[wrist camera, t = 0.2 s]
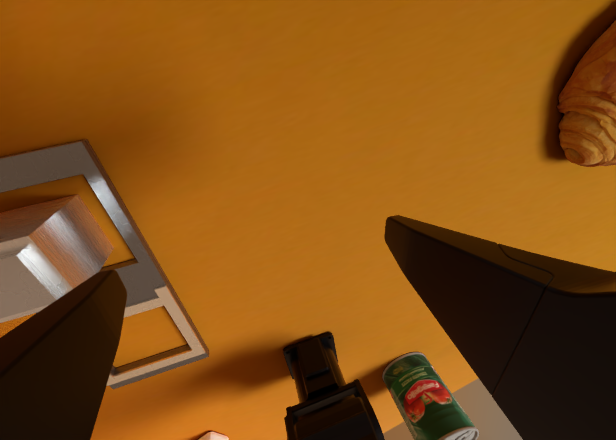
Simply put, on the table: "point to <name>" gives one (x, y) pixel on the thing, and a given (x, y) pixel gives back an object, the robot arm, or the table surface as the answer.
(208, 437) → the pepper shaker
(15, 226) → the grey upright rectangular block
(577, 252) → the table surface
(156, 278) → the rail
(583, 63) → the croissant
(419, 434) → the canned tomato
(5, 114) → the table surface
